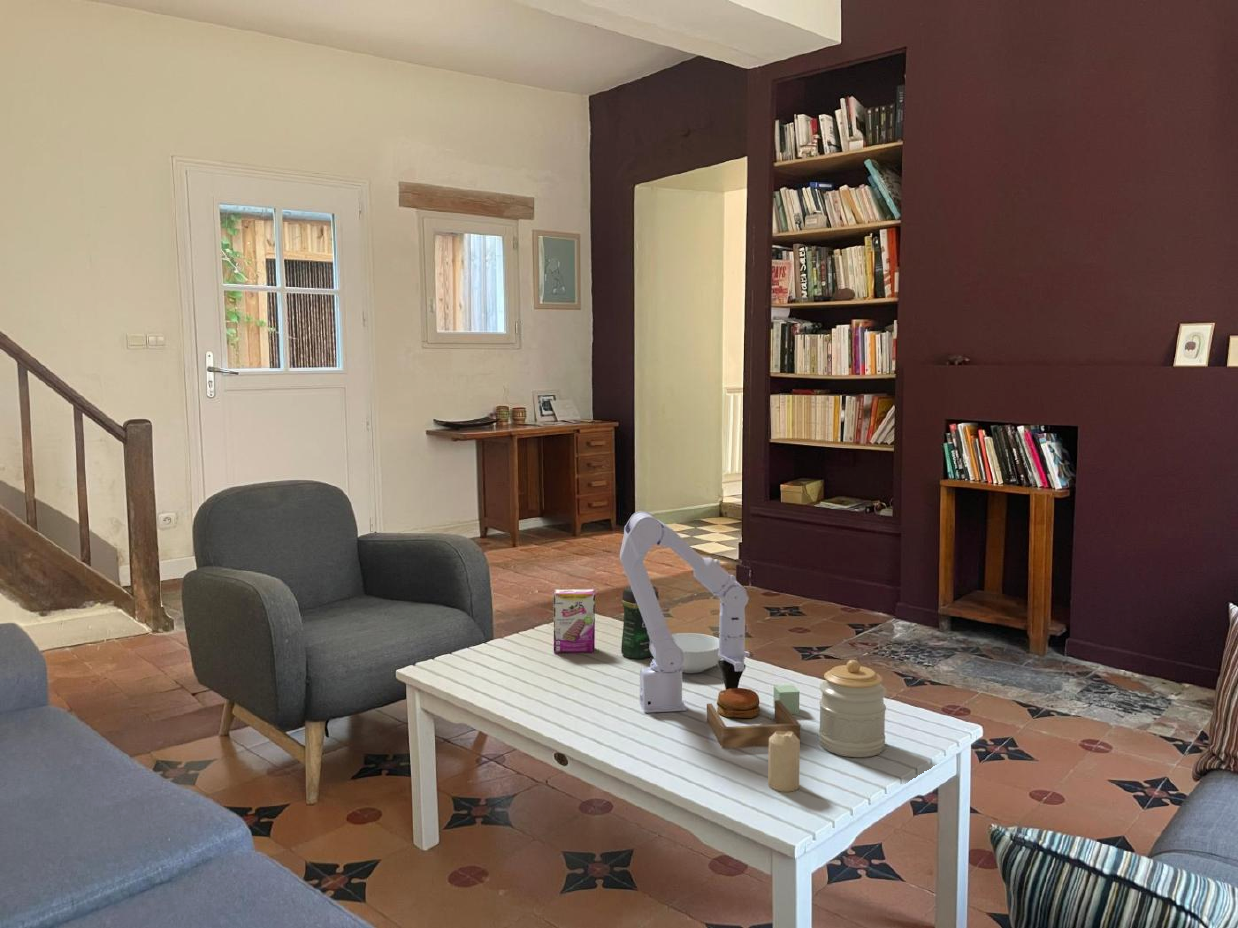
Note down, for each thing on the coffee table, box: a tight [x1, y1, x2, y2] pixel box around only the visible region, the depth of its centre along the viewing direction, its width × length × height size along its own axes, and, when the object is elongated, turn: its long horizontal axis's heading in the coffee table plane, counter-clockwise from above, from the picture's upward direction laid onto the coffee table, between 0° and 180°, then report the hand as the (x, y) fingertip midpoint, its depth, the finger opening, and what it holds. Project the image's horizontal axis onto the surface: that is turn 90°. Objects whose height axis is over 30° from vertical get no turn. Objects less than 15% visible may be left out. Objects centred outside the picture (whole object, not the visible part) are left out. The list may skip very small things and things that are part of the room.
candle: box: [767, 731, 801, 793], centre depth 171 cm, size 6×6×10 cm
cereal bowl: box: [671, 632, 722, 674], centre depth 239 cm, size 17×17×7 cm
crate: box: [706, 700, 802, 749], centre depth 196 cm, size 16×14×4 cm
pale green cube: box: [773, 684, 800, 715], centre depth 209 cm, size 4×4×5 cm
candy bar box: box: [553, 588, 596, 654], centre depth 254 cm, size 11×5×16 cm, turn 94°
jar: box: [818, 659, 887, 758], centre depth 189 cm, size 13×13×18 cm
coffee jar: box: [620, 585, 660, 659], centre depth 250 cm, size 10×8×19 cm
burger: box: [716, 687, 761, 719], centre depth 208 cm, size 10×9×5 cm
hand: (731, 692), depth 214 cm, fingers closed
